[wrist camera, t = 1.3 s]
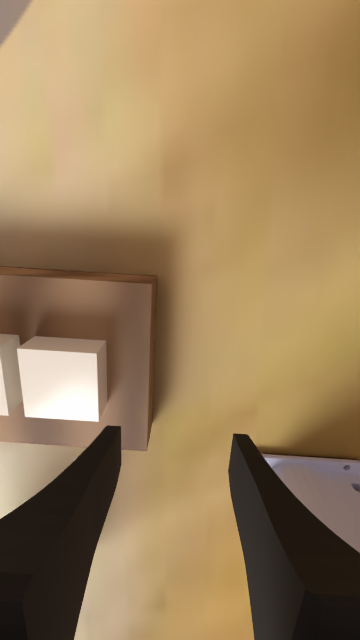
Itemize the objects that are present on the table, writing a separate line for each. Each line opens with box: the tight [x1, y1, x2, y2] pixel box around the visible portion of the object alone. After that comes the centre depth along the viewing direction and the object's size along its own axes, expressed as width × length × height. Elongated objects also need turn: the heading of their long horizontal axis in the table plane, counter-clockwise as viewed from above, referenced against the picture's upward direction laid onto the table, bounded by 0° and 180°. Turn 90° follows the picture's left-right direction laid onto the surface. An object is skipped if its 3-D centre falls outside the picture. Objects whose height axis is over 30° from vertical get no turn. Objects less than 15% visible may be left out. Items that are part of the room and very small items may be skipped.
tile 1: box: [17, 336, 107, 422], centre depth 18 cm, size 4×4×2 cm
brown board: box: [0, 267, 157, 451], centre depth 20 cm, size 14×12×3 cm
